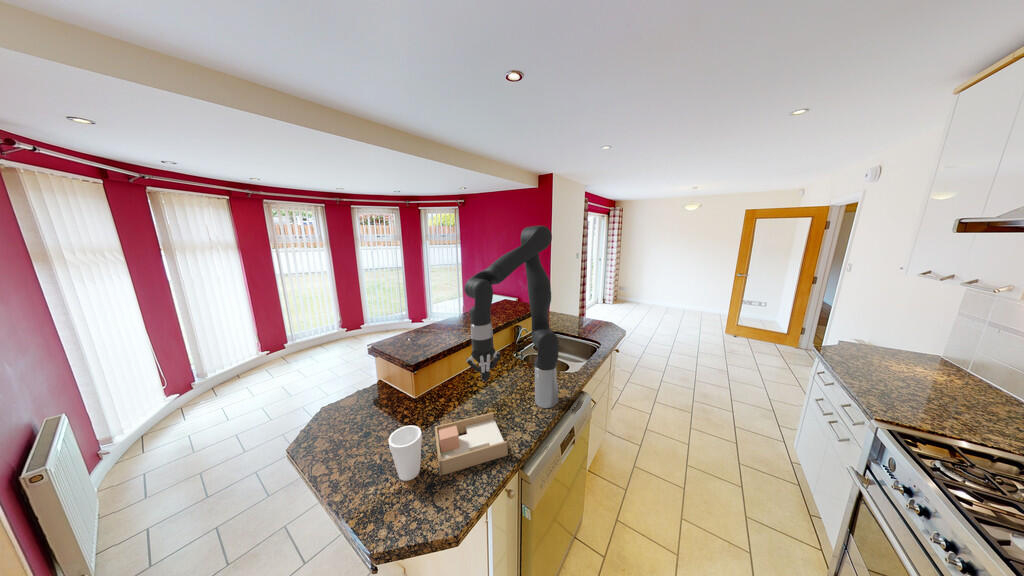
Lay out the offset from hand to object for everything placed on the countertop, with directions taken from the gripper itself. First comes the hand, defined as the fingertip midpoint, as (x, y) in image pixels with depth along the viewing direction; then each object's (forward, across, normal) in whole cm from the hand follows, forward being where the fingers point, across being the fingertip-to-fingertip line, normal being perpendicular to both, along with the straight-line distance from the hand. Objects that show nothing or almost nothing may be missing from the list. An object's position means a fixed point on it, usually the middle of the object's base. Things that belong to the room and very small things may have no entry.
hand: (485, 380), depth 101 cm
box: (+21, +8, +5) cm, 23 cm away
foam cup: (+20, +29, +8) cm, 36 cm away
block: (+18, +15, +4) cm, 24 cm away
